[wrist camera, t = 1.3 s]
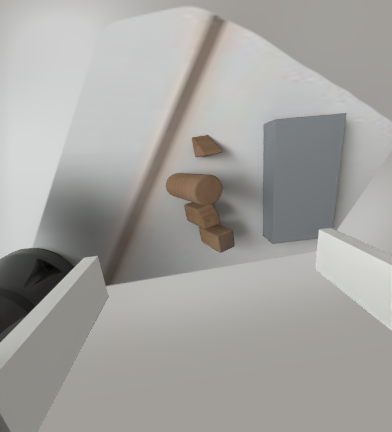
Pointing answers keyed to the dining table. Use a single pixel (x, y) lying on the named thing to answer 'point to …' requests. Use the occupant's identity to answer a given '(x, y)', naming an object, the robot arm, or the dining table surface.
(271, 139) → the grey rectangular slab
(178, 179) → the wooden block set
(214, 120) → the dining table surface
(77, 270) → the robot arm
